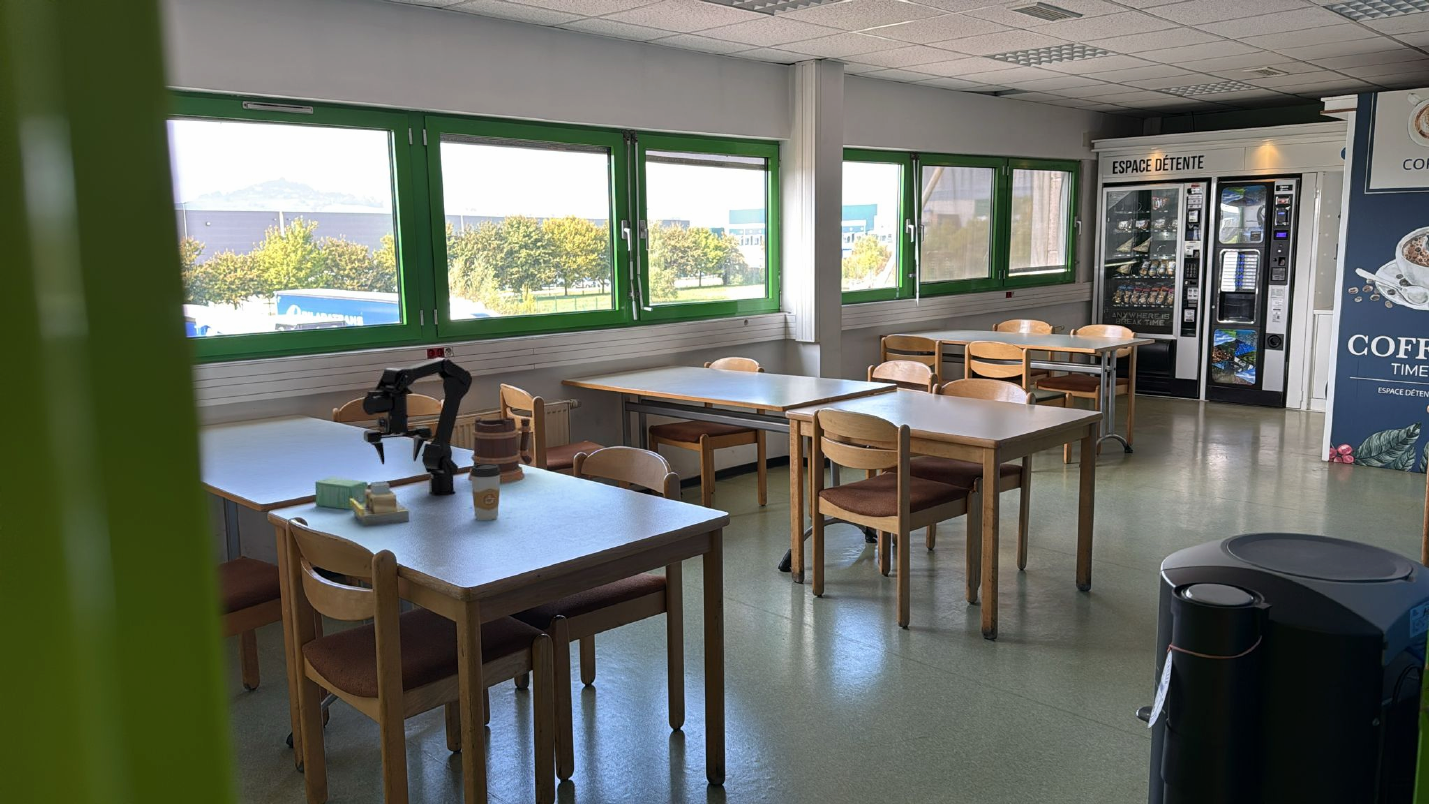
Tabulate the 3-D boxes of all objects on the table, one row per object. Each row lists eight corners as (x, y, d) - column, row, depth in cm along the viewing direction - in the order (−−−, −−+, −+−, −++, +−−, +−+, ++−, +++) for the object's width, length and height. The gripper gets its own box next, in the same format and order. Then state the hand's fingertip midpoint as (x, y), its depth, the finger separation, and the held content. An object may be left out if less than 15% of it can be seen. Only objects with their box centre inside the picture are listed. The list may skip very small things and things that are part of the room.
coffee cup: (475, 523, 292) (474, 470, 289) (468, 516, 299) (466, 464, 297) (505, 519, 295) (504, 467, 293) (496, 513, 303) (495, 462, 300)
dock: (396, 510, 305) (395, 493, 304) (409, 521, 293) (408, 503, 292) (350, 515, 298) (349, 498, 297) (361, 527, 286) (360, 509, 286)
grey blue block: (370, 491, 296) (370, 482, 295) (385, 489, 298) (384, 481, 297) (375, 494, 292) (374, 486, 291) (389, 493, 294) (389, 484, 293)
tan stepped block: (365, 504, 298) (364, 489, 298) (386, 502, 302) (386, 487, 301) (374, 513, 289) (374, 497, 288) (396, 510, 292) (396, 495, 292)
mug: (546, 476, 351) (545, 417, 348) (485, 486, 336) (484, 425, 333) (517, 467, 364) (516, 410, 361) (457, 476, 349) (456, 417, 346)
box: (352, 510, 304) (351, 485, 303) (315, 506, 309) (314, 481, 308) (369, 505, 311) (368, 480, 310) (332, 501, 315) (331, 476, 314)
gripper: (421, 404, 320) (422, 455, 322) (358, 409, 310) (360, 460, 312) (431, 409, 310) (433, 461, 312) (367, 414, 301) (369, 467, 303)
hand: (399, 462), depth 310 cm, fingers open, 9 cm apart
